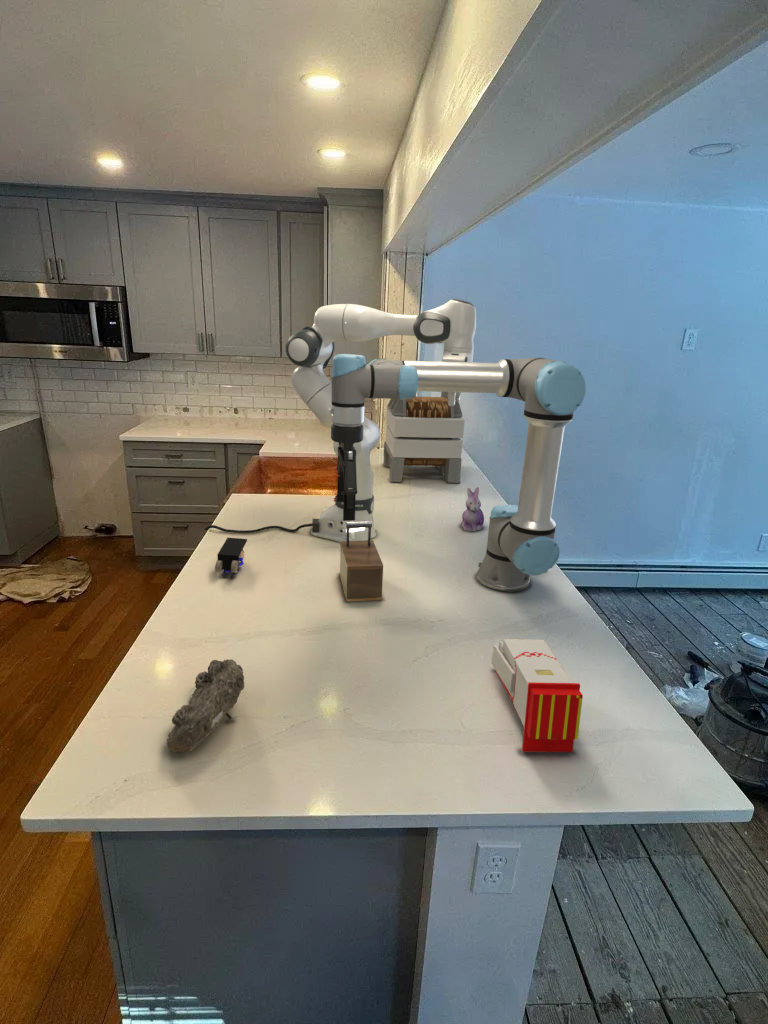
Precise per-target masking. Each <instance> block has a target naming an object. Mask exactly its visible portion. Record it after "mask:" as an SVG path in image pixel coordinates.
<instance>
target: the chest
mask: <svg viewBox="0 0 768 1024" xmlns="http://www.w3.org/2000/svg"><path fill="white" fill-rule="evenodd" d="M339 550H340V554H339V555H340V556H339V561H340V562H339V575H340V581H341V584H342V589H343V594H344V598H345V601H346V602H348V603H349V602H366V601H383V580H384V578H383V577H384V568H383V569H366V570H347V567H346V564H345V560H344V556H343V553H342V549H341V546H340V549H339Z"/></svg>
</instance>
